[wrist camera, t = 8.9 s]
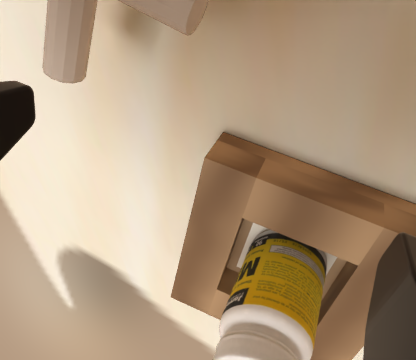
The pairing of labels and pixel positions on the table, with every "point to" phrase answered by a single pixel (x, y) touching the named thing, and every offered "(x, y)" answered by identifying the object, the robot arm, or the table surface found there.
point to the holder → (288, 234)
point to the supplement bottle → (274, 302)
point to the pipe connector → (83, 27)
